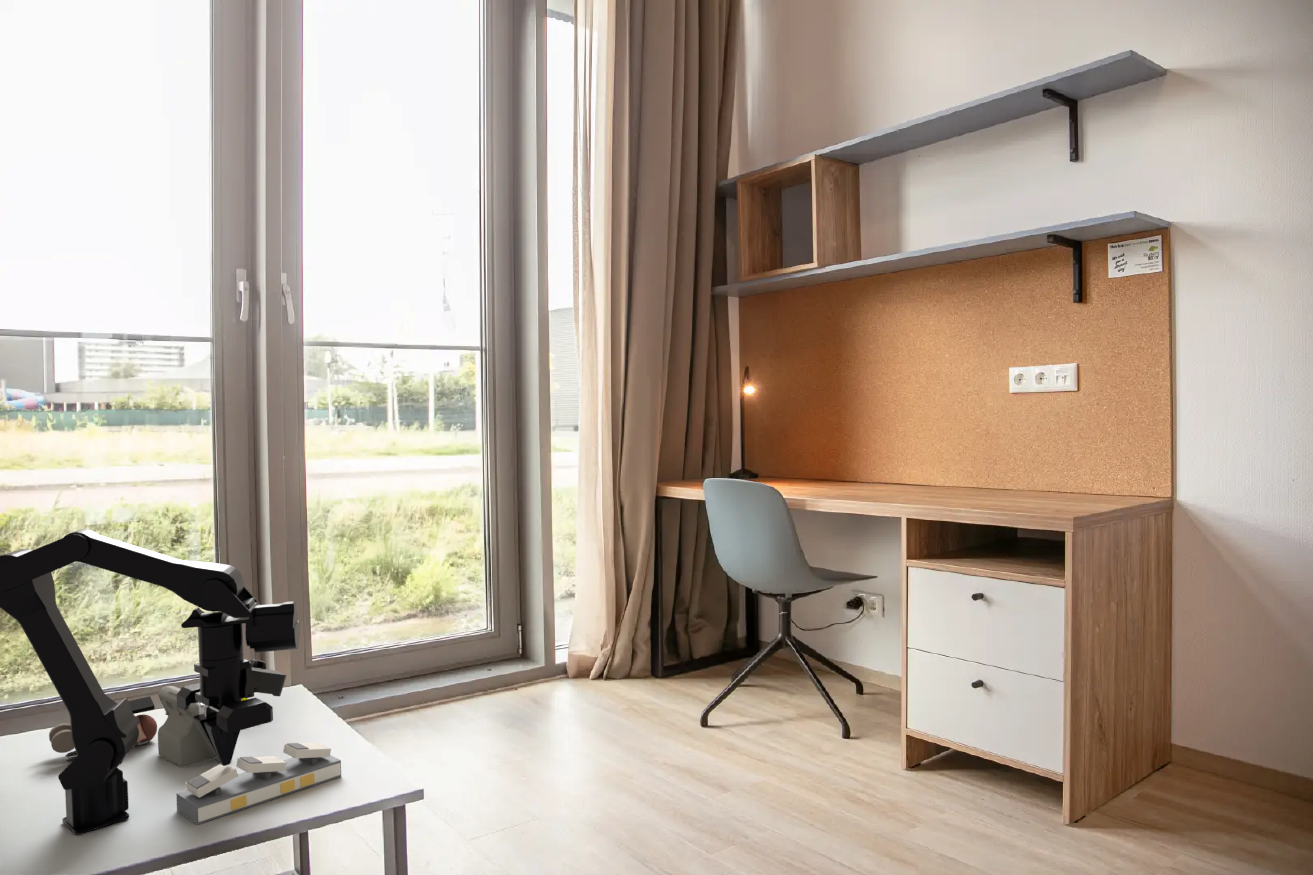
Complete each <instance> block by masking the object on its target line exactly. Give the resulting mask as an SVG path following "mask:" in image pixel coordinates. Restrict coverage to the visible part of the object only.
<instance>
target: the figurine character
mask: <svg viewBox="0 0 1313 875" xmlns="http://www.w3.org/2000/svg"><path fill="white" fill-rule="evenodd" d="M128 702H129V704H130V707H131V710H132V713H133V714H134V715H135V717H137V718H138V719H139V720H140V723H139V724H138V725H137V727H138V730H139V737H138V740H137V742H136V744H135V746H142V745H146V744H147V743H149V742H150V741H152V740H153V739H154V737H155V736H156V734H157V733H158V724H157V721H156V720H155V718H154V717H152V716H151V715H149V714H143V713H144V712H148V711H152V710H155V708H156V707H155V704H154V702H153V699H152V698H151V696H150V695H149V696H145V697H141V698H135V699H131V700H128ZM139 713H142V714H139ZM137 714H138V715H137ZM48 739H49V742H50V744H51V746H50V747H51V748H52V750H53V751H54V752H56V753H60V754H64V753H66V755H65V757H69V758H68V759H67V760H66V762H72V761H73V760H74V759H75V758H76V757H77V753H76V750H75V747H74V744H73V741H72V734H71V723H68V722H61V723H57V725H54V726H53V727H52V728H51V729H50V731H49V732H48ZM73 750H74V751H73ZM72 756H73V757H72Z"/></svg>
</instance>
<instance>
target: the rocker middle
mask: <svg viewBox="0 0 1313 875" xmlns="http://www.w3.org/2000/svg"><path fill="white" fill-rule="evenodd" d="M283 760H284V759H281V758H279V757H277V756H273V755H271V756H270V755H269V756H240V757H237V759H236V765H235V767H236V768H238V769H240V770H242V771H243V772H247V773H258V772H274V771H285V768H286V763H287V762H285V761H283Z"/></svg>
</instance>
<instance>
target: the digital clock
mask: <svg viewBox="0 0 1313 875" xmlns="http://www.w3.org/2000/svg"><path fill="white" fill-rule="evenodd" d="M180 690H181V688H179V687H178V686H173V685H165V686H163V687H162V688H160V690H159V692H158V694H157V695H158V698H159V700H160V702H161V704H162V707H163V709H164V711H165V714H164V715H166V716H167V718H166V720H165V722H164V723H163V724H162V725H161V726H160V727H159V728H158V729H157V748H158V750H157V751H158V756H159V757H161V758H164V760H167V761H169V762H171V763H173V764H174V765H177V766H178V767H180V768H185V767H189V766H192V765H196V764H199V763H203V762H206V761H209V760H212V759H213V760H216V761H218V759H217V757H216V755H215V754H214V752H213V750H212V748H211V746H210V745H209V743H208V741H207V740H206V738H205V736H204V734H203V733H202V731H201V729H200V728H199V726H198V724H197V723H196V721H195V720H194V719H193V716H196V715H199V706H197V705H196V703H191V704H190V706H189V708H188V709H187V710H182V709H180V708H179V707H177V693H178V692H179V691H180Z"/></svg>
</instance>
